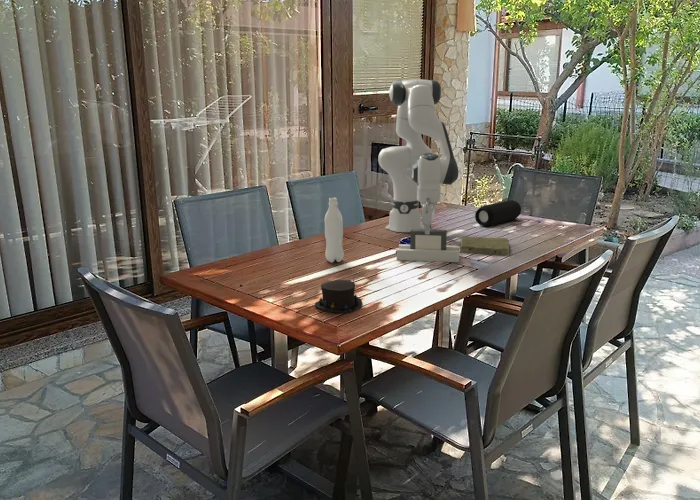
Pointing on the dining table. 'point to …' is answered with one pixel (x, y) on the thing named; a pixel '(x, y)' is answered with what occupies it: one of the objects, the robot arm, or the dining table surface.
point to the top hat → (339, 297)
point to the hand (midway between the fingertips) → (428, 231)
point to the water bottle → (333, 232)
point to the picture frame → (428, 239)
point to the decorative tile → (484, 245)
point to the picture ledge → (428, 254)
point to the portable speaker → (498, 213)
